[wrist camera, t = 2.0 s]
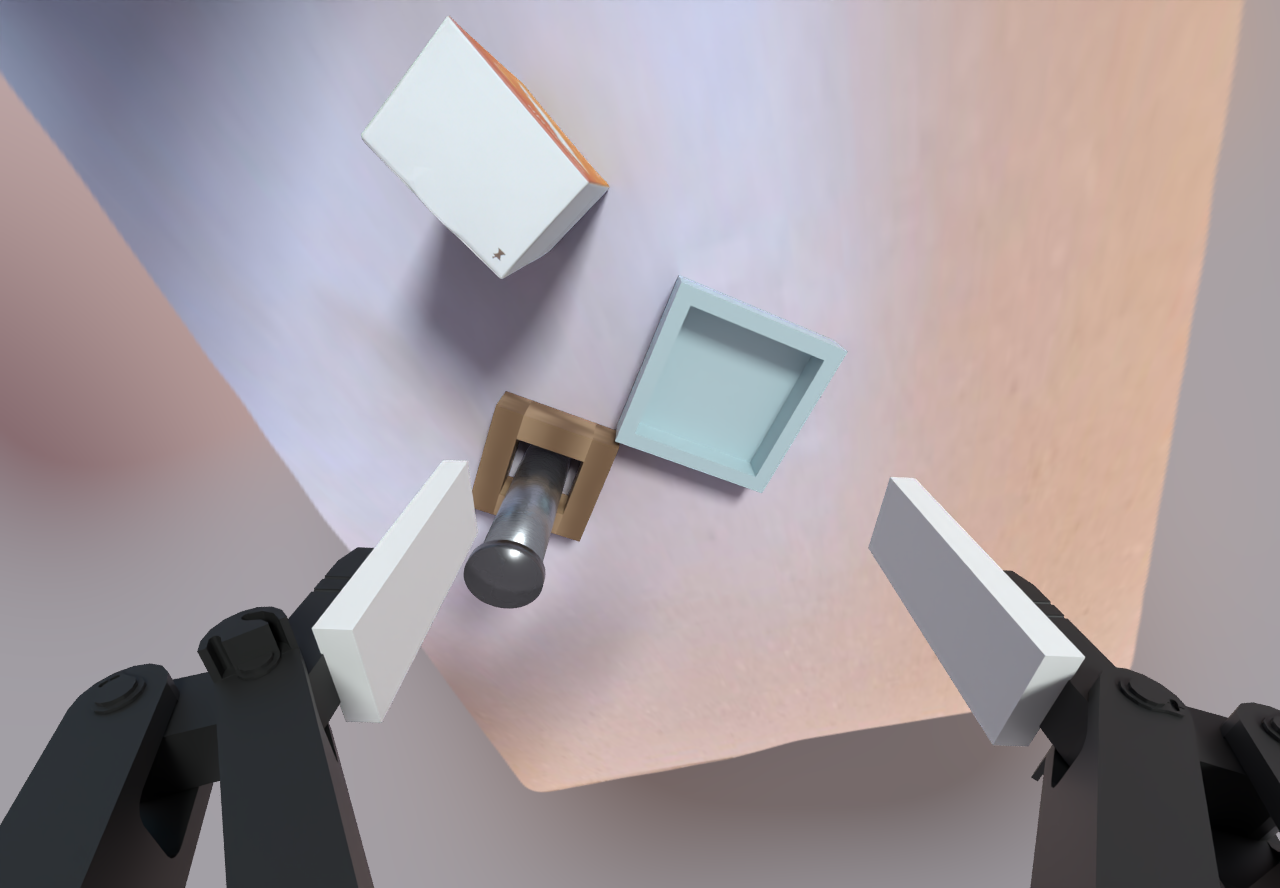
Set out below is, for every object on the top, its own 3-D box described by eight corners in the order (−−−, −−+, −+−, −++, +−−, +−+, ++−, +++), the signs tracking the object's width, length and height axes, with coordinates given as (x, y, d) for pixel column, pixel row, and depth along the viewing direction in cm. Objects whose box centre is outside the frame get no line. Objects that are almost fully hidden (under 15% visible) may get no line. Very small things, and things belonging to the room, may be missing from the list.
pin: (513, 473, 44) (456, 595, 30) (528, 428, 41) (473, 538, 28) (565, 490, 44) (530, 616, 31) (581, 447, 42) (552, 562, 29)
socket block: (478, 487, 44) (467, 506, 42) (505, 391, 40) (495, 405, 37) (583, 521, 46) (579, 541, 43) (620, 432, 42) (618, 448, 39)
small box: (612, 186, 33) (593, 184, 22) (548, 254, 35) (500, 284, 24) (521, 78, 30) (445, 8, 19) (458, 157, 32) (354, 139, 21)
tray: (617, 425, 41) (615, 441, 39) (679, 275, 36) (681, 281, 33) (754, 474, 43) (761, 493, 41) (833, 340, 38) (847, 351, 35)
